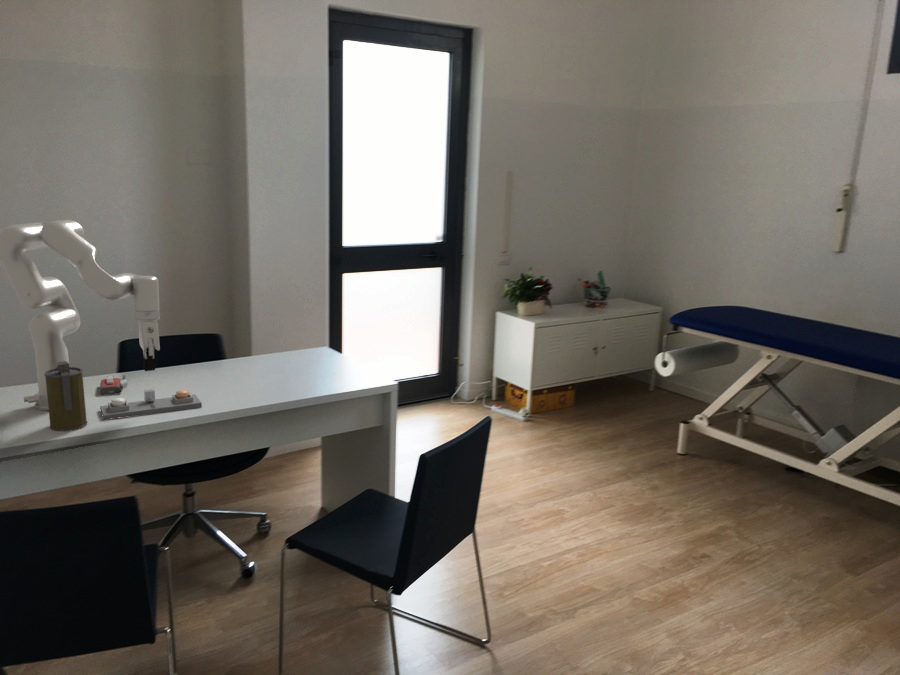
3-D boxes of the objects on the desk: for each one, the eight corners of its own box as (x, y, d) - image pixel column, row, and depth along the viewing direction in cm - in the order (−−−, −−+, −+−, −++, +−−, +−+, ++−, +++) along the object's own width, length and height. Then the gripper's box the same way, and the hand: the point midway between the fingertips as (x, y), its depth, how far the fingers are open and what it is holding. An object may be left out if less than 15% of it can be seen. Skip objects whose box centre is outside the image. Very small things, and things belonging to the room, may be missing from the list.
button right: (177, 399, 246) (177, 394, 245) (175, 396, 249) (175, 391, 249) (190, 397, 248) (189, 392, 247) (187, 394, 251) (187, 389, 251)
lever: (155, 400, 246) (154, 390, 245) (145, 402, 244) (144, 391, 244) (154, 399, 248) (153, 388, 247) (144, 400, 246) (143, 390, 245)
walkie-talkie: (127, 395, 258) (127, 379, 276) (126, 383, 257) (126, 368, 275) (99, 397, 255) (101, 381, 273) (98, 385, 254) (100, 369, 272)
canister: (48, 423, 228) (42, 360, 224) (85, 417, 234) (80, 357, 229) (51, 434, 219) (44, 369, 215) (89, 428, 225) (84, 365, 220)
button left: (112, 407, 236) (112, 402, 235) (111, 404, 239) (110, 398, 239) (126, 406, 238) (125, 400, 237) (124, 402, 241) (123, 397, 241)
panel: (104, 420, 232) (103, 411, 232) (100, 410, 241) (99, 401, 240) (201, 406, 247) (201, 398, 247) (195, 398, 256) (194, 390, 255)
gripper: (163, 318, 230) (166, 375, 234) (155, 309, 242) (157, 363, 246) (138, 320, 226) (140, 377, 230) (130, 310, 238) (133, 365, 243)
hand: (149, 369), depth 238 cm, fingers closed
